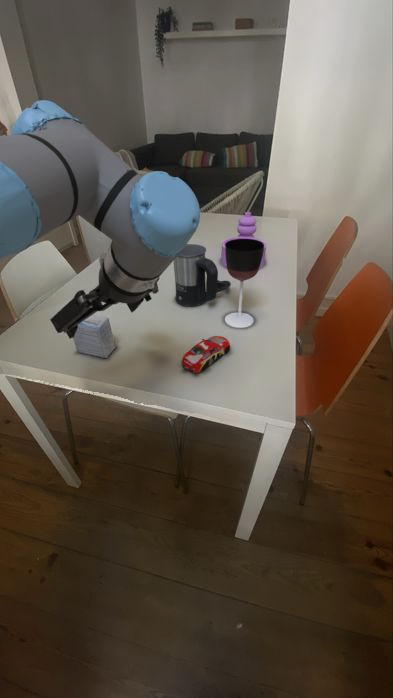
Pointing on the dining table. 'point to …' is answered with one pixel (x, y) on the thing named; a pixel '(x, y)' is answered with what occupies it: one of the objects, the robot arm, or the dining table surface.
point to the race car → (205, 353)
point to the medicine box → (94, 337)
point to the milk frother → (196, 277)
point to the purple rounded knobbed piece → (244, 235)
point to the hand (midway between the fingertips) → (100, 318)
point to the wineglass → (242, 272)
